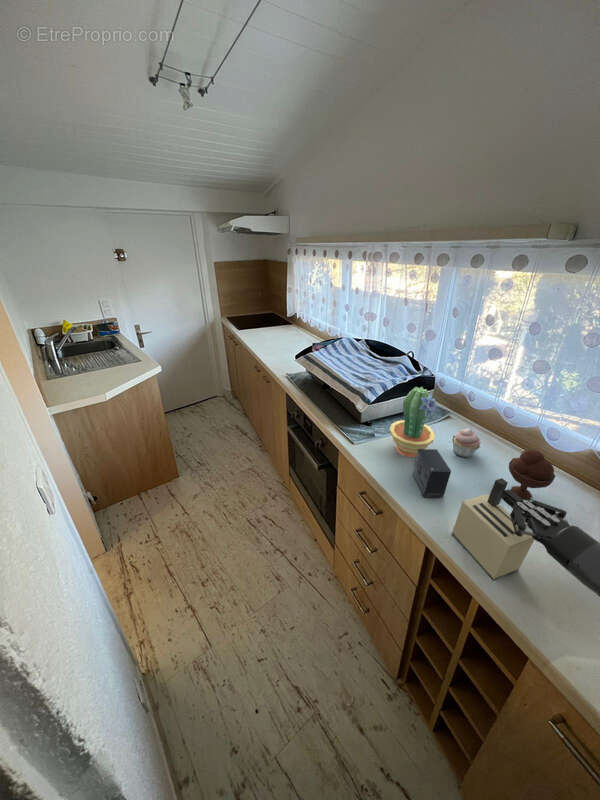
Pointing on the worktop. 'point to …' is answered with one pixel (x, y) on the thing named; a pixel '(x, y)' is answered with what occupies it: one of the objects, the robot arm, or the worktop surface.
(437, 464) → the small box
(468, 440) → the cupcake
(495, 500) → the slider
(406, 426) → the potted cactus
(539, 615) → the worktop surface
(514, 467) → the ice cream bowl
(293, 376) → the worktop surface
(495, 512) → the toaster
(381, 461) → the worktop surface
